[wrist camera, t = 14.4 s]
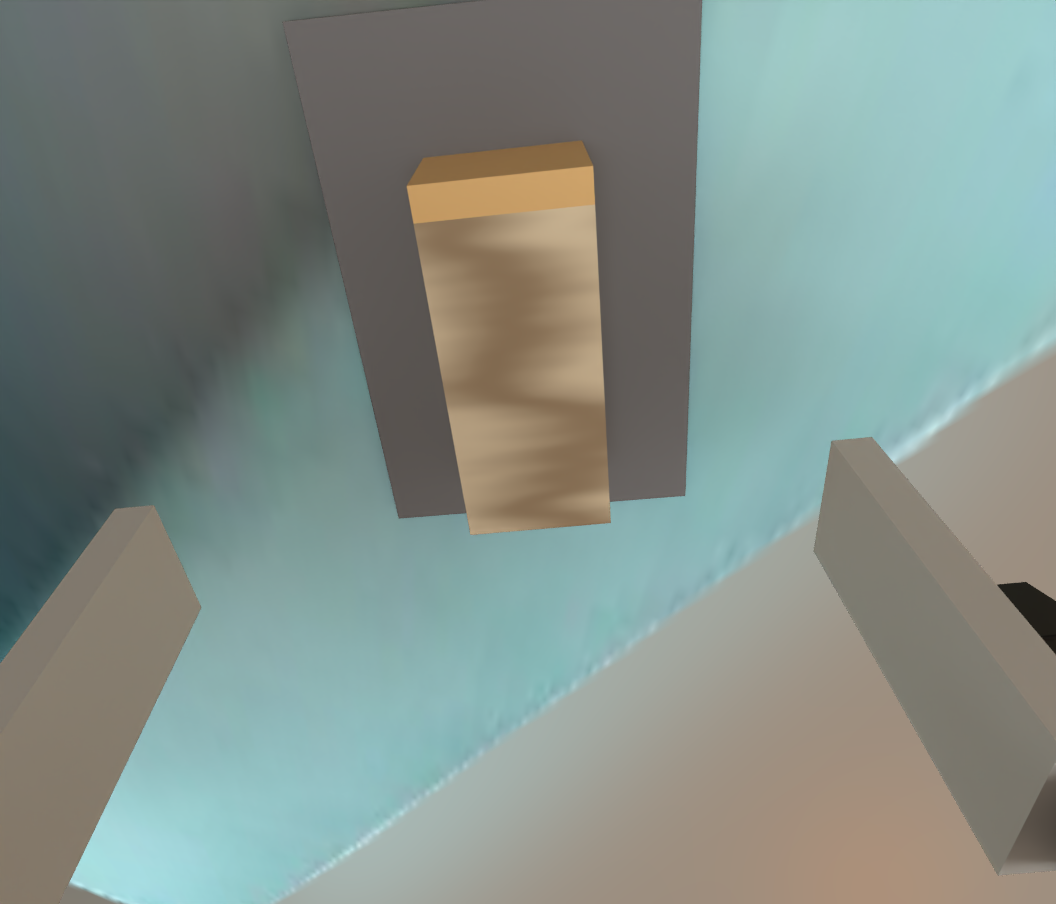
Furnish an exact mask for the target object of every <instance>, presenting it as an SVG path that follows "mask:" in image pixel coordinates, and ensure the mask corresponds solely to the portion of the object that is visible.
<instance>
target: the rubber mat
mask: <svg viewBox="0 0 1056 904" xmlns="http://www.w3.org/2000/svg"><path fill="white" fill-rule="evenodd" d="M701 18H702V0H482V1H472V2H463V3H454V4H444V5H435V6H426V7H416V8H407V9H397V10H388V11H379V12H369V13H360V14H350V15H341V16H332V17H322V18H313V19H303V20H294V21H285V22H283V26H284V30H285V35H286V39H287V43H288V48H289V52H290V56H291V60H292V65H293V69H294V73H295V77H296V82H297V86H298V90H299V94H300V99H301V103H302V107H303V112H304V116H305V120H306V124H307V129H308V133H309V137H310V141H311V146H312V150H313V154H314V158H315V163H316V167H317V171H318V176H319V180H320V184H321V188H322V193H323V197H324V201H325V205H326V210H327V214H328V218H329V222H330V227H331V231H332V235H333V240H334V244H335V248H336V252H337V257H338V261H339V265H340V269H341V274H342V278H343V282H344V286H345V291H346V295H347V299H348V304H349V308H350V312H351V316H352V321H353V325H354V329H355V333H356V338H357V342H358V346H359V350H360V355H361V359H362V363H363V368H364V372H365V376H366V380H367V385H368V389H369V393H370V397H371V402H372V406H373V410H374V414H375V419H376V423H377V427H378V432H379V436H380V440H381V444H382V449H383V453H384V457H385V461H386V466H387V470H388V474H389V478H390V483H391V487H392V491H393V496H394V500H395V504H396V508H397V513H398V517H399V518H410V517H423V516H435V515H448V514H460V513H466V507H465V502H464V496H463V491H462V485H461V480H460V475H459V469H458V464H457V458H456V453H455V447H454V442H453V436H452V431H451V425H450V420H449V415H448V409H447V404H446V398H445V393H444V387H443V382H442V376H441V371H440V365H439V360H438V354H437V349H436V344H435V338H434V333H433V327H432V322H431V316H430V311H429V305H428V300H427V294H426V289H425V283H424V278H423V273H422V267H421V262H420V256H419V251H418V245H417V240H416V234H415V229H414V223H413V218H412V213H411V207H410V202H409V196H408V191H407V185H408V183H409V181H410V180H411V178H412V176H413V174H414V173H415V171H416V169H417V168H418V166H419V164H420V163H421V161H422V159H423V158H427V157H436V156H445V155H454V154H463V153H472V152H481V151H490V150H499V149H508V148H518V147H527V146H536V145H545V144H554V143H563V142H572V141H581V140H582V142H583V144H584V146H585V149H586V151H587V153H588V155H589V158H590V160H591V162H592V164H593V172H594V193H595V213H596V234H597V254H598V274H599V295H600V315H601V336H602V356H603V377H604V397H605V418H606V438H607V459H608V479H609V499H610V502H612V501H625V500H637V499H650V498H663V497H675V496H685V489H686V459H687V430H688V400H689V371H690V342H691V312H692V283H693V253H694V224H695V194H696V165H697V135H698V106H699V76H700V47H701Z"/></svg>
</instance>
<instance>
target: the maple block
mask: <svg viewBox="0 0 1056 904" xmlns="http://www.w3.org/2000/svg"><path fill="white" fill-rule="evenodd" d="M407 191H408V196H409V202H410V207H411V213H412V218H413V223H414V229H415V234H416V240H417V245H418V251H419V256H420V262H421V267H422V273H423V278H424V283H425V289H426V294H427V300H428V305H429V311H430V316H431V322H432V327H433V333H434V338H435V344H436V349H437V354H438V360H439V365H440V371H441V376H442V382H443V387H444V393H445V398H446V404H447V409H448V415H449V420H450V425H451V431H452V436H453V442H454V447H455V453H456V458H457V464H458V469H459V475H460V480H461V485H462V491H463V496H464V502H465V507H466V513H467V518H468V524H469V529H470V535H475V534H487V533H499V532H510V531H522V530H533V529H545V528H557V527H568V526H580V525H591V524H603V523H611V520H610V499H609V479H608V459H607V438H606V418H605V397H604V377H603V356H602V336H601V315H600V295H599V274H598V254H597V234H596V213H595V193H594V172H593V164H592V162H591V160H590V158H589V155H588V153H587V151H586V149H585V146H584V144H583V142H582V140H581V141H572V142H563V143H554V144H545V145H536V146H527V147H518V148H508V149H499V150H490V151H481V152H472V153H463V154H454V155H445V156H436V157H427V158H423V159H422V161H421V163H420V164H419V166H418V168H417V169H416V171H415V173H414V174H413V176H412V178H411V180H410V181H409V183H408V185H407Z"/></svg>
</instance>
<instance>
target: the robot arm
mask: <svg viewBox="0 0 1056 904" xmlns="http://www.w3.org/2000/svg"><path fill="white" fill-rule="evenodd" d="M814 553H815V554H816V556H817V558H818V560H819V561H820V563H821V565H822V567H823V569H824V570H825V572H826V574H827V576H828V577H829V579H830V581H831V583H832V584H833V586H834V588H835V589H836V591H837V593H838V595H839V597H840V598H841V600H842V602H843V604H844V606H845V607H846V609H847V611H848V613H849V614H850V616H851V618H852V620H853V621H854V623H855V625H856V627H857V628H858V630H859V631H860V634H861V636H862V637H863V639H864V641H865V642H866V644H867V646H868V648H869V650H870V651H871V653H872V655H873V657H874V658H875V660H876V662H877V664H878V665H879V667H880V669H881V671H882V672H883V674H884V676H885V678H886V679H887V681H888V683H889V685H890V686H891V688H892V690H893V692H894V693H895V695H896V697H897V699H898V701H899V702H900V704H901V706H902V708H903V709H904V711H905V713H906V715H907V716H908V718H909V720H910V722H911V724H912V725H913V727H914V729H915V731H916V732H917V734H918V736H919V738H920V739H921V741H922V743H923V745H924V746H925V748H926V750H927V752H928V753H929V755H930V757H931V758H932V761H933V762H934V764H935V766H936V768H937V769H938V771H939V773H940V774H941V776H942V778H943V780H944V782H945V783H946V785H947V787H948V789H949V790H950V792H951V794H952V796H953V798H954V799H955V801H956V803H957V805H958V806H959V808H960V810H961V812H962V813H963V815H964V817H965V819H966V820H967V822H968V824H969V826H970V828H971V829H972V831H973V833H974V835H975V836H976V838H977V840H978V841H979V843H980V845H981V847H982V849H983V850H984V852H985V854H986V856H987V857H988V859H989V861H990V863H991V864H992V866H993V868H994V870H995V871H996V873H997V875H998V876H999V875H1010V874H1022V873H1035V872H1045V871H1056V601H1055V600H1053V599H1052V598H1050V597H1048V596H1047V595H1045V594H1044V593H1042V592H1041V591H1039V590H1038V589H1036V588H1034V587H1033V586H1031V585H1030V584H1028V583H1027V582H1021V583H1010V584H999V585H996V583H995V582H994V581H993V580H992V579H991V577H990V576H989V575H988V574H987V573H986V572H985V570H984V569H983V568H982V567H981V566H980V565H979V563H978V562H977V561H976V560H975V559H974V557H973V556H972V555H971V554H970V553H969V551H968V550H967V549H966V548H965V547H964V546H963V545H962V543H961V542H960V541H959V540H958V538H957V537H956V536H955V535H954V534H953V532H952V531H951V530H950V529H949V528H948V527H947V525H946V524H945V523H944V522H943V521H942V519H941V518H940V517H939V516H938V515H937V514H936V513H935V511H934V510H933V509H932V508H931V507H930V505H929V504H928V503H927V502H926V501H925V499H924V498H923V497H922V496H921V495H920V494H919V492H918V491H917V490H916V489H915V488H914V486H913V485H912V484H911V483H910V482H909V480H908V479H907V478H906V477H905V476H904V475H903V473H902V472H901V471H900V470H899V469H898V467H897V466H896V465H895V464H894V463H893V461H892V460H891V459H890V458H889V457H888V456H887V454H886V453H885V452H884V451H883V450H882V448H881V447H880V446H879V445H878V444H877V443H876V441H875V440H874V439H873V438H872V437H867V438H857V439H846V440H836V441H832V442H831V448H830V454H829V460H828V466H827V472H826V478H825V484H824V490H823V496H822V502H821V509H820V515H819V521H818V527H817V533H816V540H815V545H814ZM200 609H201V606H200V603H199V601H198V599H197V597H196V595H195V593H194V590H193V588H192V586H191V584H190V582H189V580H188V578H187V575H186V573H185V571H184V569H183V567H182V565H181V562H180V560H179V558H178V556H177V554H176V552H175V550H174V547H173V545H172V543H171V541H170V539H169V537H168V534H167V532H166V530H165V528H164V526H163V524H162V522H161V519H160V517H159V515H158V513H157V511H156V509H155V506H154V505H151V506H140V507H130V508H119V509H115V510H114V511H113V512H112V514H111V515H110V516H109V518H108V519H107V520H106V522H105V523H104V524H103V526H102V527H101V529H100V530H99V531H98V533H97V534H96V535H95V537H94V538H93V539H92V541H91V542H90V543H89V545H88V546H87V547H86V549H85V550H84V551H83V553H82V554H81V556H80V557H79V558H78V560H77V561H76V562H75V564H74V565H73V566H72V568H71V569H70V570H69V572H68V573H67V574H66V576H65V577H64V578H63V580H62V581H61V583H60V584H59V585H58V587H57V588H56V589H55V591H54V592H53V593H52V595H51V596H50V597H49V599H48V600H47V601H46V603H45V604H44V605H43V607H42V608H41V610H40V611H39V612H38V614H37V615H36V616H35V618H34V619H33V620H32V622H31V623H30V624H29V626H28V627H27V628H26V630H25V631H24V632H23V634H22V635H21V637H20V638H19V639H18V641H17V642H16V643H15V645H14V646H13V647H12V649H11V650H10V651H9V653H8V654H7V655H6V657H5V658H4V660H3V661H2V662H1V664H0V904H59V903H60V900H61V898H62V896H63V894H64V892H65V890H66V888H67V886H68V884H69V882H70V880H71V878H72V875H73V873H74V871H75V869H76V867H77V865H78V863H79V861H80V859H81V857H82V855H83V853H84V851H85V848H86V846H87V844H88V842H89V840H90V838H91V836H92V834H93V832H94V830H95V828H96V826H97V824H98V821H99V819H100V817H101V815H102V813H103V811H104V809H105V807H106V805H107V803H108V801H109V799H110V797H111V794H112V792H113V790H114V788H115V786H116V784H117V782H118V780H119V778H120V776H121V774H122V772H123V769H124V767H125V765H126V763H127V761H128V759H129V757H130V755H131V753H132V751H133V749H134V747H135V745H136V742H137V740H138V738H139V736H140V734H141V732H142V730H143V728H144V726H145V724H146V722H147V720H148V718H149V715H150V713H151V711H152V709H153V707H154V705H155V703H156V701H157V699H158V697H159V695H160V693H161V690H162V688H163V686H164V684H165V682H166V680H167V678H168V676H169V674H170V672H171V670H172V668H173V666H174V663H175V661H176V659H177V657H178V655H179V653H180V651H181V649H182V647H183V645H184V643H185V641H186V639H187V636H188V634H189V632H190V630H191V628H192V626H193V624H194V622H195V620H196V618H197V616H198V614H199V611H200Z"/></svg>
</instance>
